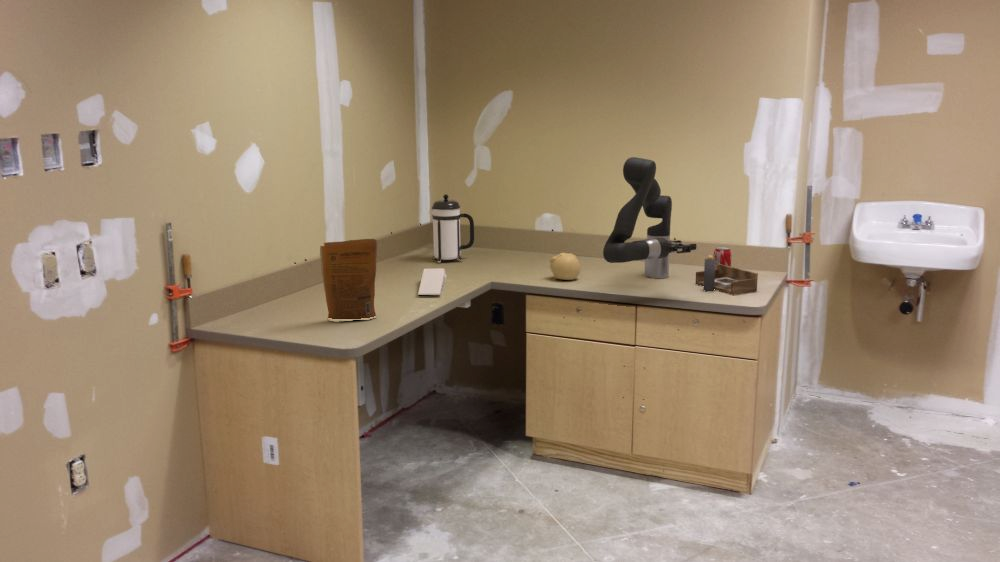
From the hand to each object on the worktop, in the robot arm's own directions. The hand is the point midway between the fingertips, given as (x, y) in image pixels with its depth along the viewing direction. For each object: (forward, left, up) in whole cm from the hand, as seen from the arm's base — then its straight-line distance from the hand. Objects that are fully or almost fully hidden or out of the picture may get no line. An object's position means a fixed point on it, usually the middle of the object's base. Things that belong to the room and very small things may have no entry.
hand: (688, 244), depth 331 cm
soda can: (-16, +32, -19) cm, 41 cm away
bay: (0, +20, -19) cm, 27 cm away
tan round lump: (-45, -25, -19) cm, 55 cm away
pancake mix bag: (-28, -122, -19) cm, 127 cm away
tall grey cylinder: (0, +11, -19) cm, 22 cm away
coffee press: (-104, -49, -19) cm, 117 cm away
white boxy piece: (-57, -79, -19) cm, 99 cm away
